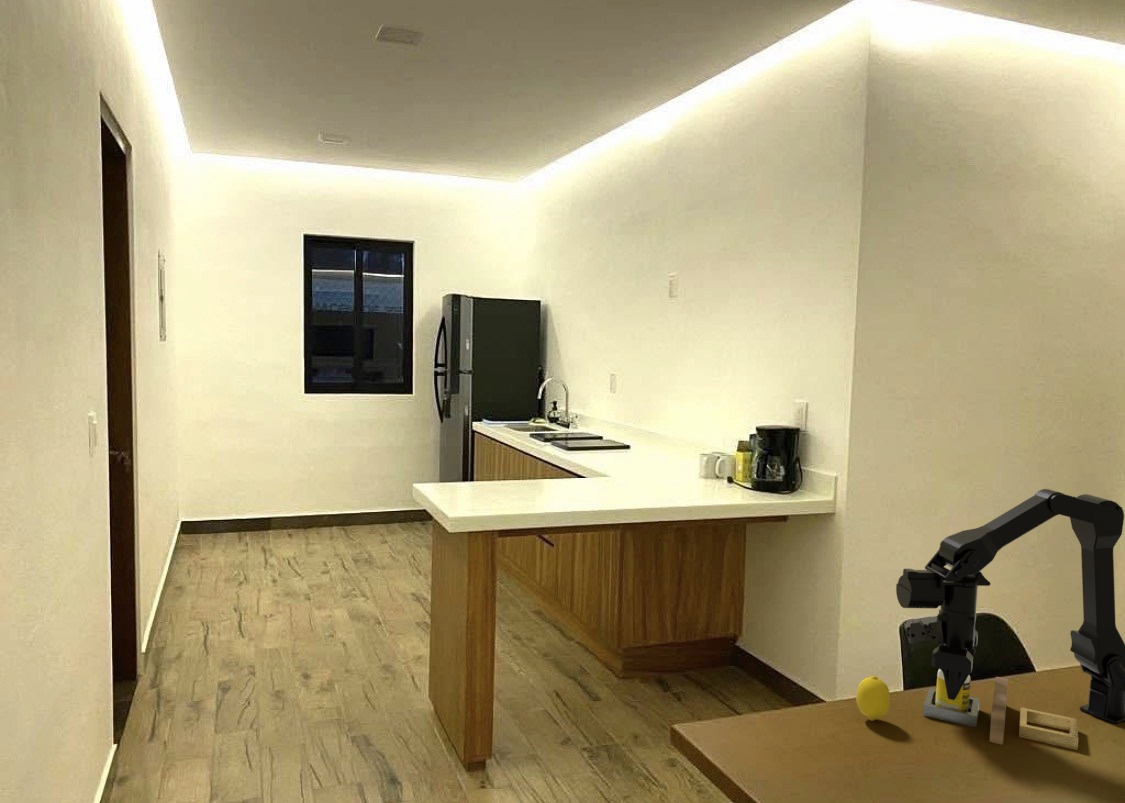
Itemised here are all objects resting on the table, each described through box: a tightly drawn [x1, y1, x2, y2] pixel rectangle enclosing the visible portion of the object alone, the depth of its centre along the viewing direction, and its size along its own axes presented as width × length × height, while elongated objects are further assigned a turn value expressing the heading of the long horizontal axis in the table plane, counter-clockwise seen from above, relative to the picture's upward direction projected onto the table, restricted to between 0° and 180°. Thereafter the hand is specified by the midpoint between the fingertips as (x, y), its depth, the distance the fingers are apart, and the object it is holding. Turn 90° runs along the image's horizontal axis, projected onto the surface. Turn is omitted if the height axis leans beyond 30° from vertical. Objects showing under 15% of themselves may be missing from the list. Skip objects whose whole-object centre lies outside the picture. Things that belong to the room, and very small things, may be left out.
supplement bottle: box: [934, 668, 971, 712], centre depth 152 cm, size 5×5×10 cm
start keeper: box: [922, 688, 981, 728], centre depth 152 cm, size 8×8×2 cm
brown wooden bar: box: [989, 676, 1009, 746], centre depth 149 cm, size 18×2×5 cm, turn 151°
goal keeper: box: [1018, 707, 1079, 751], centre depth 145 cm, size 8×8×2 cm
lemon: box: [855, 675, 891, 722], centre depth 148 cm, size 6×6×8 cm
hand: (952, 693), depth 152 cm, fingers closed on supplement bottle, 5 cm apart
